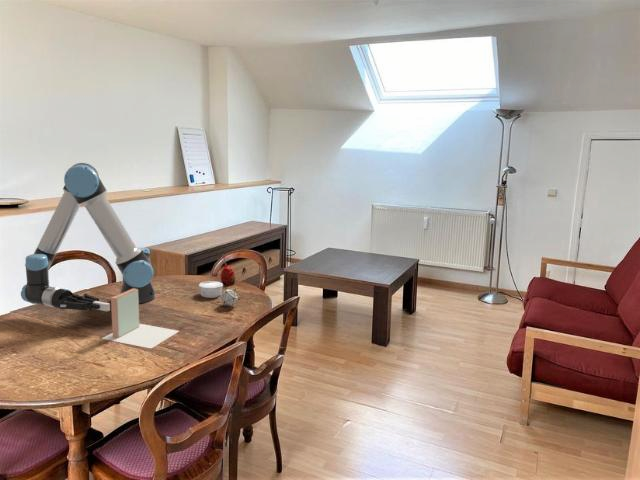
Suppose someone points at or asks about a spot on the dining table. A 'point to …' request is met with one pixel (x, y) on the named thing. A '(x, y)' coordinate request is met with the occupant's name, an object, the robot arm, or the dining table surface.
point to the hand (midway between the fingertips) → (108, 307)
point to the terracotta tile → (125, 312)
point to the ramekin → (210, 289)
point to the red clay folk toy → (227, 274)
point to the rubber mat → (144, 336)
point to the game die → (229, 297)
